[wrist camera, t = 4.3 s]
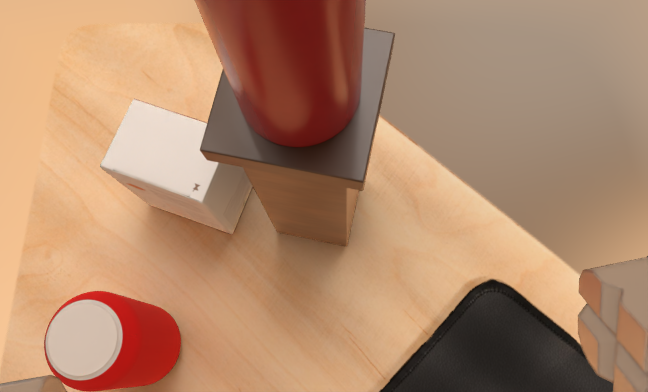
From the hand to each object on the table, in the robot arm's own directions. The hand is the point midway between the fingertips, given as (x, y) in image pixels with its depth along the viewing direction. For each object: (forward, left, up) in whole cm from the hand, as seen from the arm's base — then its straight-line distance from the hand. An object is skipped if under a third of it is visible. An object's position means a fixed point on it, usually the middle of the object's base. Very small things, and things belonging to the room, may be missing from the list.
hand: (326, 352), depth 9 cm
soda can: (-5, +12, -17) cm, 21 cm away
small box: (-15, +11, -39) cm, 43 cm away
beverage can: (-16, -2, -39) cm, 42 cm away
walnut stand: (-5, +12, -39) cm, 41 cm away
